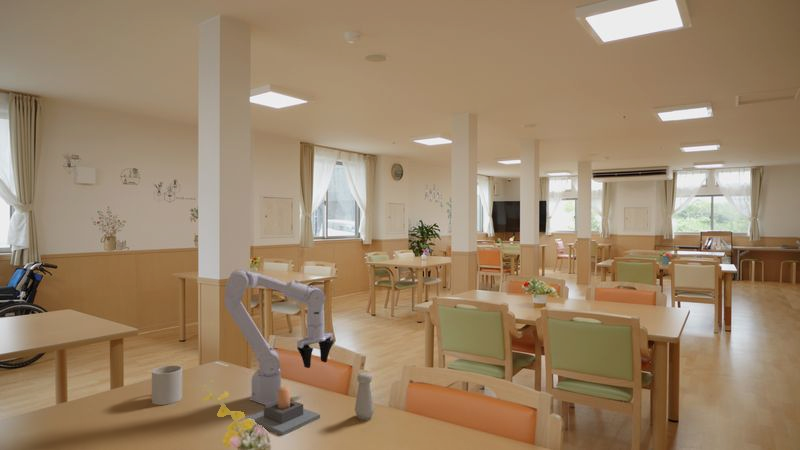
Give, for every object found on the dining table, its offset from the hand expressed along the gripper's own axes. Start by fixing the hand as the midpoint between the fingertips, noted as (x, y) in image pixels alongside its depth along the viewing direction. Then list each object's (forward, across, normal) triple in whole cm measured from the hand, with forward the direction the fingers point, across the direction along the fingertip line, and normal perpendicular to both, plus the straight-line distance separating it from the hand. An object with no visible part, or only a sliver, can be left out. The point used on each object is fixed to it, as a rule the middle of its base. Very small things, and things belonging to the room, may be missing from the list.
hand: (315, 364), depth 153 cm
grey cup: (+10, -31, +37) cm, 49 cm away
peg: (+9, -19, -7) cm, 22 cm away
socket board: (+10, -19, -6) cm, 23 cm away
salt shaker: (+10, -4, -25) cm, 27 cm away
